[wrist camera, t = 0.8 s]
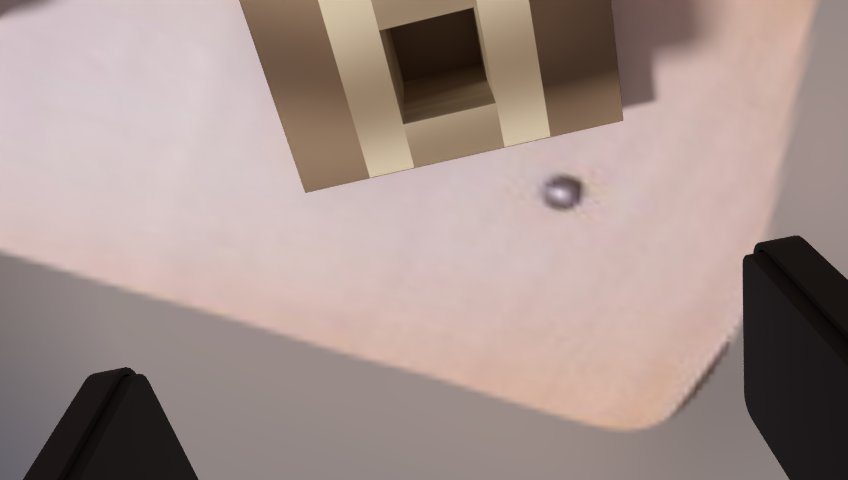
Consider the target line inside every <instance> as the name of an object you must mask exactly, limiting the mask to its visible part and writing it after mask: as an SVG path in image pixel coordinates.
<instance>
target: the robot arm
mask: <svg viewBox="0 0 848 480" xmlns="http://www.w3.org/2000/svg"><path fill="white" fill-rule="evenodd" d="M743 333H744V394H745V395H744V396H745V402H746V406H747V409H748V412H749V414H750V416H751V418H752V420H753V422H754V423H755V425H756V427H757V428H758V430H759V431H760V433H761V435H762V436H763V438H764V439H765V441H766V443H767V444H768V446H769V447H770V449H771V451H772V452H773V454H774V455H775V457H776V458H777V460H778V462H779V463H780V465H781V467H782V468H783V470H784V471H785V473H786V475H787V476H788V478H789V479H790V480H848V280H847V279H846V278H845V277H844V276H843V275H842V274H841V273H839V271H838V270H837V269H835V268H834V267H833V266H832V265H831V264H830V263H829V262H828V261H827V260H826V259H825V258H824V257H823V256H821V255H820V254H819V253H818V252H817V251H816V250H815V249H814V248H813V247H812V246H811V245H810V244H809V243H808V242H806V241H805V240H804V239H803V238H802V237H800V236H790V237H786V238H780V239H775V240H770V241H765V242H760V243H757V244H756V245H755V248H754V253H753V254H750V255H746V256H745V257H744V259H743ZM23 480H198V478H197V476H196V474H195V472H194V470H193V468H192V467H191V464H190V462H189V460H188V458H187V456H186V454H185V452H184V450H183V448H182V446H181V444H180V442H179V440H178V438H177V436H176V434H175V433H174V431H173V429H172V427H171V425H170V423H169V421H168V419H167V417H166V415H165V413H164V411H163V409H162V407H161V405H160V403H159V401H158V399H157V397H156V395H155V393H154V391H153V389H152V387H151V385H150V383H149V381H148V380H147V378H146V377H145V376H144V375H143V374H136V373H135V372H134V371H133V370H132V369H131V368H127V367H125V368H120V369H115V370H109V371H104V372H100V373H95V374H92V375H90V376H89V377H88V378H87V379H86V380H85V382H84V383H83V385H82V387H81V388H80V390H79V392H78V393H77V394H76V396H75V398H74V399H73V401H72V402H71V404H70V406H69V407H68V409H67V410H66V412H65V414H64V415H63V417H62V418H61V420H60V421H59V423H58V425H57V426H56V428H55V429H54V431H53V433H52V434H51V436H50V437H49V439H48V441H47V442H46V444H45V445H44V447H43V449H42V450H41V452H40V453H39V455H38V457H37V458H36V460H35V461H34V463H33V464H32V466H31V468H30V469H29V471H28V472H27V474H26V476H25V477H24V479H23Z"/></svg>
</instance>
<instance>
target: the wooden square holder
mask: <svg viewBox="0 0 848 480" xmlns="http://www.w3.org/2000/svg"><path fill="white" fill-rule="evenodd" d="M318 2H319V5H320V9H321V12H322V16H323V19H324V23H325V26H326V29H327V33H328V36H329V40H330V43H331V46H332V50H333V53H334V57H335V60H336V64H337V67H338V70H339V74H340V77H341V81H342V84H343V87H344V91H345V94H346V98H347V101H348V105H349V108H350V111H351V115H352V118H353V122H354V125H355V128H356V132H357V135H358V139H359V142H360V146H361V149H362V152H363V156H364V159H365V163H366V166H367V169H368V173H369V176H370V177H375V176H379V175H384V174H388V173H392V172H397V171H401V170H406V169H410V168H414V167H419V166H423V165H428V164H432V163H436V162H441V161H445V160H450V159H454V158H458V157H463V156H467V155H472V154H476V153H480V152H485V151H489V150H494V149H498V148H502V147H507V146H511V145H516V144H520V143H524V142H529V141H533V140H538V139H542V138H546V137H551V136H550V130H549V124H548V117H547V111H546V105H545V99H544V92H543V86H542V80H541V73H540V67H539V61H538V54H537V48H536V42H535V35H534V29H533V23H532V17H531V10H530V4H529V0H318ZM469 8H470V9H471V14H472V19H473V24H474V29H475V34H476V39H477V45H478V50H479V55H480V60H481V64H477V65H473V66H469V67H465V68H460V69H456V70H452V71H448V72H444V73H439V74H435V75H431V76H427V77H423V78H419V79H414V80H410V81H406V82H404V81H403V77H402V73H401V70H400V66H399V62H398V58H397V54H396V50H395V46H394V42H393V38H392V34H391V30H390V28H392V27H396V26H400V25H404V24H408V23H412V22H416V21H420V20H424V19H428V18H432V17H436V16H441V15H445V14H449V13H453V12H457V11H461V10H465V9H469Z"/></svg>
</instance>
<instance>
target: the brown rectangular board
mask: <svg viewBox="0 0 848 480" xmlns="http://www.w3.org/2000/svg"><path fill="white" fill-rule="evenodd" d="M239 1H240V4H241V7H242V10H243V13H244V15H245V18H246V21H247V24H248V27H249V30H250V33H251V36H252V39H253V42H254V45H255V48H256V50H257V53H258V56H259V59H260V62H261V65H262V68H263V71H264V74H265V77H266V80H267V83H268V85H269V88H270V91H271V94H272V97H273V100H274V103H275V106H276V109H277V112H278V115H279V118H280V120H281V123H282V126H283V129H284V132H285V135H286V138H287V141H288V144H289V147H290V150H291V153H292V155H293V158H294V161H295V164H296V167H297V170H298V173H299V176H300V179H301V182H302V185H303V188H304V190H305V193H307V192H311V191H316V190H320V189H325V188H329V187H333V186H338V185H342V184H347V183H351V182H355V181H360V180H364V179H369V178H373V177H370V176H369V173H368V169H367V166H366V163H365V159H364V156H363V152H362V149H361V146H360V142H359V139H358V135H357V132H356V128H355V125H354V122H353V118H352V115H351V111H350V108H349V105H348V101H347V98H346V94H345V91H344V87H343V84H342V81H341V77H340V74H339V70H338V67H337V64H336V60H335V57H334V53H333V50H332V46H331V43H330V40H329V36H328V33H327V29H326V26H325V23H324V19H323V16H322V12H321V9H320V5H319V2H318V0H239ZM529 4H530V10H531V17H532V23H533V29H534V35H535V42H536V48H537V54H538V61H539V67H540V73H541V80H542V86H543V92H544V99H545V105H546V111H547V117H548V124H549V130H550V136H551V137H553V136H558V135H562V134H567V133H571V132H575V131H580V130H584V129H589V128H593V127H597V126H602V125H606V124H611V123H615V122H619V121H623V112H622V102H621V93H620V84H619V74H618V65H617V56H616V46H615V37H614V27H613V18H612V9H611V0H529ZM390 30H391V34H392V38H393V42H394V46H395V50H396V54H397V58H398V62H399V66H400V70H401V73H402V77H403V81H404V82H406V81H410V80H414V79H419V78H423V77H427V76H431V75H435V74H439V73H444V72H448V71H452V70H456V69H460V68H465V67H469V66H473V65H477V64H481V60H480V55H479V50H478V45H477V39H476V34H475V29H474V24H473V19H472V14H471V9H470V8H469V9H465V10H461V11H457V12H453V13H449V14H445V15H441V16H436V17H432V18H428V19H424V20H420V21H416V22H412V23H408V24H404V25H400V26H396V27H392V28H390ZM546 138H549V137H546ZM542 139H545V138H542ZM538 140H540V139H538ZM533 141H536V140H533ZM529 142H531V141H529ZM524 143H527V142H524ZM520 144H523V143H520ZM516 145H518V144H516ZM511 146H514V145H511ZM507 147H509V146H507ZM502 148H505V147H502ZM498 149H501V148H498ZM494 150H496V149H494ZM489 151H492V150H489ZM485 152H487V151H485ZM480 153H483V152H480ZM476 154H479V153H476ZM472 155H474V154H472ZM467 156H470V155H467ZM463 157H465V156H463ZM458 158H461V157H458ZM454 159H457V158H454ZM450 160H452V159H450ZM445 161H448V160H445ZM441 162H443V161H441ZM436 163H439V162H436ZM432 164H435V163H432ZM428 165H430V164H428ZM423 166H426V165H423ZM419 167H421V166H419ZM414 168H417V167H414ZM410 169H413V168H410ZM406 170H408V169H406ZM401 171H404V170H401ZM397 172H399V171H397ZM392 173H395V172H392ZM388 174H391V173H388ZM384 175H386V174H384ZM379 176H382V175H379ZM375 177H377V176H375Z"/></svg>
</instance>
